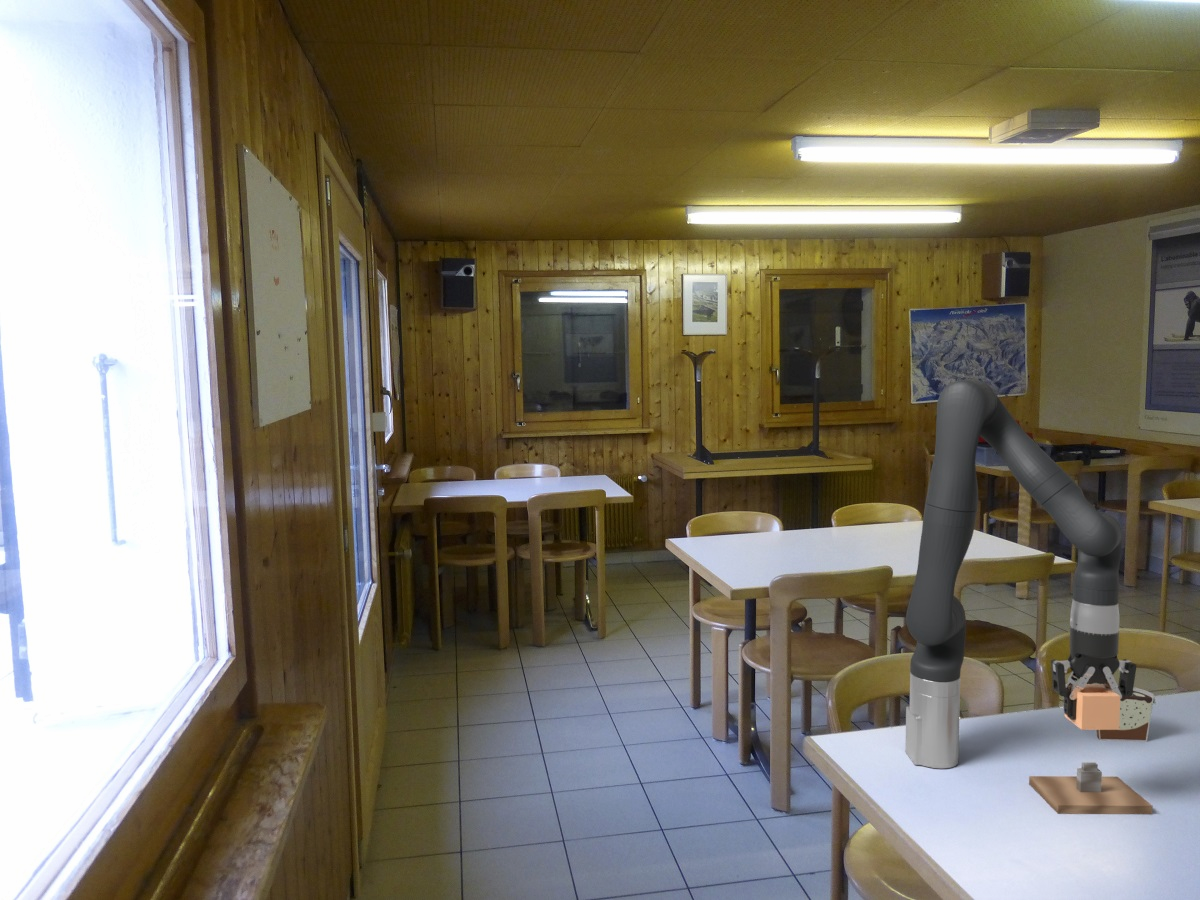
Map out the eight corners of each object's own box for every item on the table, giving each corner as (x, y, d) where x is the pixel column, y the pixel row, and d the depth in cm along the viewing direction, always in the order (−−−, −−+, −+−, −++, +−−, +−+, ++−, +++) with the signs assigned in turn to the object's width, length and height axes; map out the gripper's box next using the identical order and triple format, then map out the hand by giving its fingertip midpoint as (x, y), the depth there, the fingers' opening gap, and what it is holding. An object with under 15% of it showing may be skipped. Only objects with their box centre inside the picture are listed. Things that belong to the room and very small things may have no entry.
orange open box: (1081, 729, 152) (1082, 696, 152) (1064, 716, 158) (1065, 684, 158) (1119, 729, 152) (1120, 696, 152) (1100, 716, 158) (1101, 684, 158)
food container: (1139, 729, 186) (1141, 684, 185) (1154, 741, 180) (1156, 694, 179) (1078, 728, 187) (1080, 682, 186) (1091, 740, 181) (1093, 693, 180)
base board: (1057, 813, 151) (1059, 777, 151) (1029, 784, 162) (1030, 750, 162) (1152, 814, 151) (1153, 777, 150) (1116, 784, 162) (1118, 750, 161)
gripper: (1063, 632, 150) (1060, 726, 152) (1148, 632, 150) (1145, 726, 151) (1042, 620, 158) (1040, 710, 159) (1124, 620, 157) (1120, 710, 159)
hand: (1091, 717), depth 155 cm, fingers closed on orange open box, 6 cm apart
